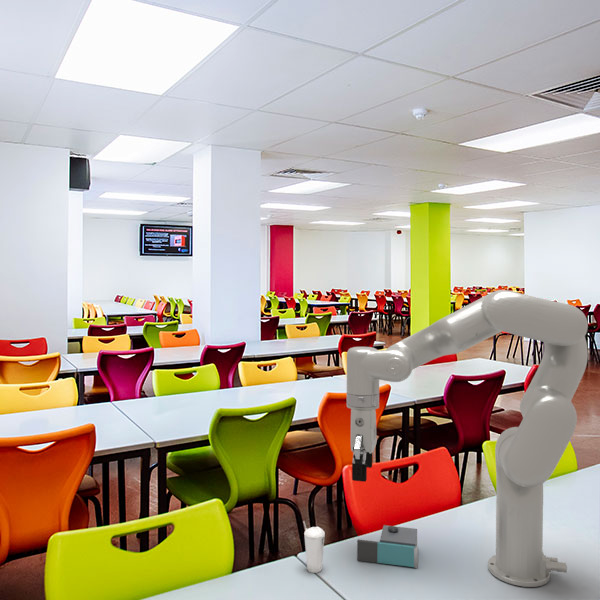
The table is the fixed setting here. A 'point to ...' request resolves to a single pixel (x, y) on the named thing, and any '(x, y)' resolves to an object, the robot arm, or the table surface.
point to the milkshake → (314, 548)
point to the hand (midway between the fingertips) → (362, 473)
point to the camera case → (399, 535)
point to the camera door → (387, 553)
